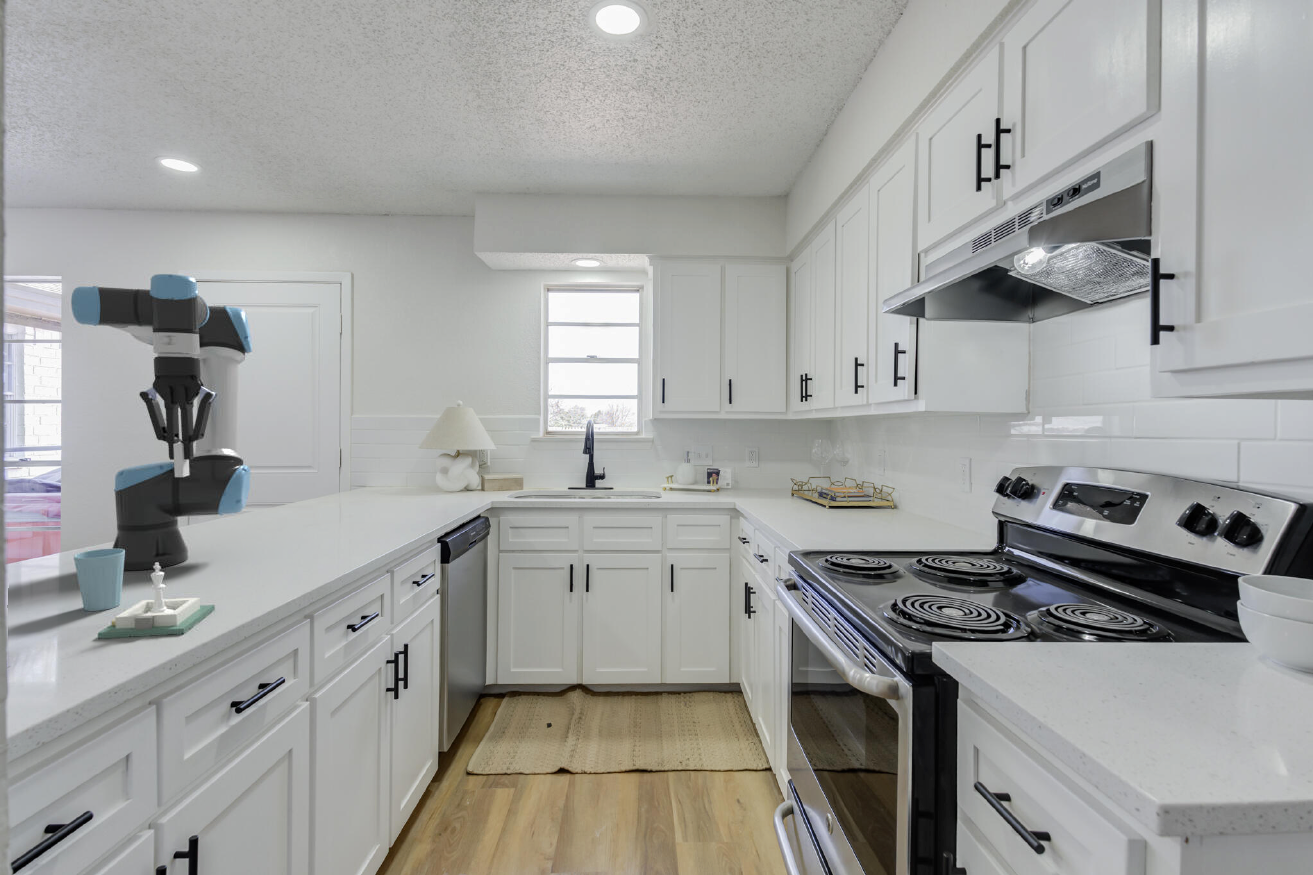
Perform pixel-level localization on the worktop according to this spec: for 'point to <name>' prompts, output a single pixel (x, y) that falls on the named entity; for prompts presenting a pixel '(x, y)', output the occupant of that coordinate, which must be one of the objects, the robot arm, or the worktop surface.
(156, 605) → the chess piece
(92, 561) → the cup
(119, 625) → the header board
